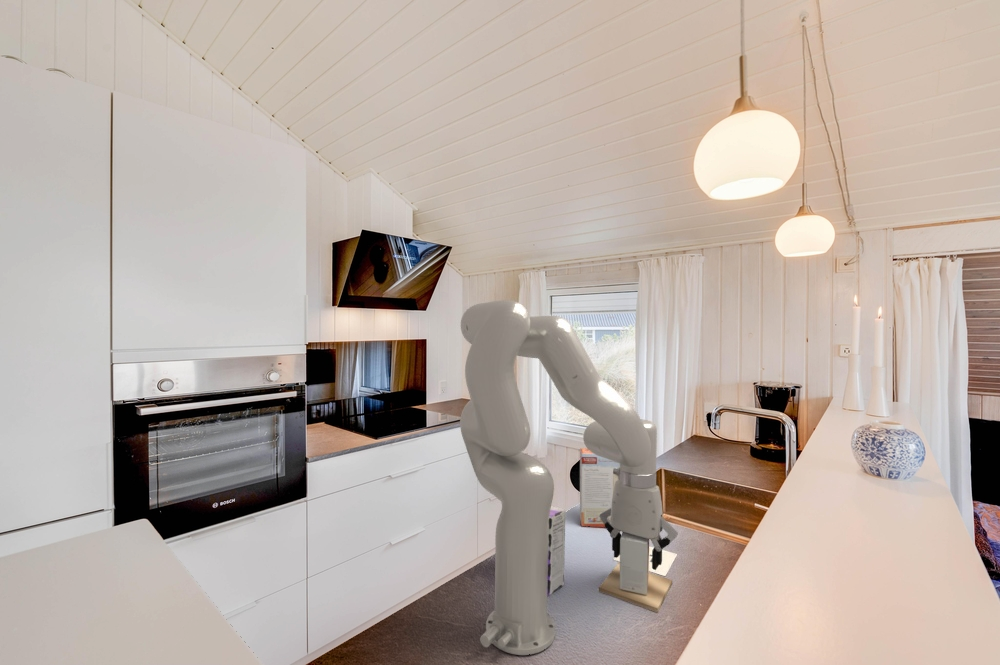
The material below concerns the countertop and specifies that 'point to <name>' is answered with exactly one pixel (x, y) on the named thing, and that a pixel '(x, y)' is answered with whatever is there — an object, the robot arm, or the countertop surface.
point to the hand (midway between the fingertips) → (636, 560)
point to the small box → (634, 563)
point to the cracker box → (595, 487)
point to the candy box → (556, 549)
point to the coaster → (651, 601)
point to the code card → (665, 565)
